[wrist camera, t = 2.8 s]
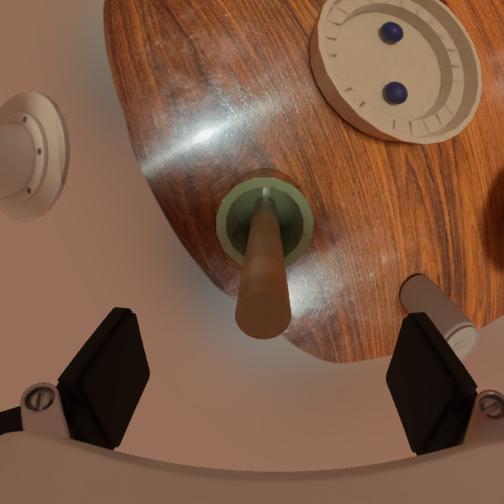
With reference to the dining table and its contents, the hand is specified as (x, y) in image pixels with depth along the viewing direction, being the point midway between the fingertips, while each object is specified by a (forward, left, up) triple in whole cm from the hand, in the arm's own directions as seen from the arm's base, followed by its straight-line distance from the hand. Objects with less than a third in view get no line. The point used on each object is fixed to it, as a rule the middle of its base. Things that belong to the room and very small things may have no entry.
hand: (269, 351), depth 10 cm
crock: (0, 0, -23) cm, 23 cm away
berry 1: (+13, +20, -21) cm, 31 cm away
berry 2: (+13, +13, -21) cm, 27 cm away
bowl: (+13, +16, -23) cm, 31 cm away
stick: (0, 0, -22) cm, 22 cm away
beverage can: (+19, -10, -23) cm, 31 cm away
